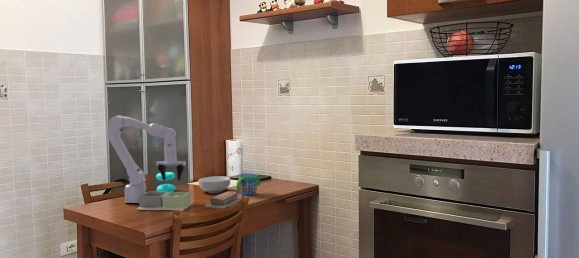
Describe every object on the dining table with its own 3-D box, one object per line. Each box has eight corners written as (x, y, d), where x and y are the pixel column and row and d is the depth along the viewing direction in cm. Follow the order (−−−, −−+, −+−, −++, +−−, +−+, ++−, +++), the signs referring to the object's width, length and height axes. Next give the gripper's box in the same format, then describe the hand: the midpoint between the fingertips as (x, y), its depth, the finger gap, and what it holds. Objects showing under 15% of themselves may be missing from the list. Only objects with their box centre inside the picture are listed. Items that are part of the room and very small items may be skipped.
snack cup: (253, 190, 265) (253, 172, 264) (266, 193, 257) (266, 174, 256) (230, 195, 254) (230, 176, 253) (243, 198, 246) (243, 178, 245)
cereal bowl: (233, 188, 272) (233, 175, 271) (226, 195, 256) (226, 181, 255) (203, 188, 274) (203, 175, 273) (195, 195, 257) (194, 181, 257)
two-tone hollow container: (136, 210, 227) (135, 197, 227) (148, 203, 241) (147, 191, 240) (182, 211, 225) (182, 198, 224) (192, 203, 238) (191, 191, 238)
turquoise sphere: (170, 171, 274) (177, 173, 266) (171, 188, 275) (178, 191, 267) (153, 173, 268) (160, 175, 260) (154, 191, 269) (161, 194, 261)
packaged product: (223, 190, 247) (241, 191, 244) (224, 199, 248) (241, 200, 244) (204, 197, 231) (223, 199, 227) (205, 208, 231) (223, 209, 227)
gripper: (153, 154, 240) (154, 181, 242) (182, 154, 239) (183, 181, 240) (158, 152, 247) (159, 178, 249) (186, 151, 246) (187, 178, 247)
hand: (171, 180), depth 245 cm, fingers open, 7 cm apart
